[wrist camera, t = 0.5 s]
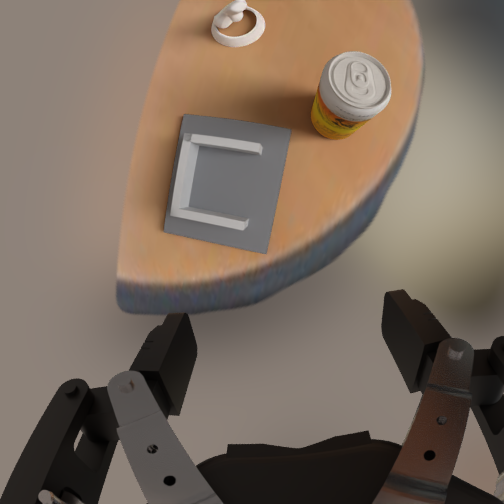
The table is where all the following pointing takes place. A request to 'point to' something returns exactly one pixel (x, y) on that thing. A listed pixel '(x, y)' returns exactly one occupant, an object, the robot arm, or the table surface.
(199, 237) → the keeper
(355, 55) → the beer can
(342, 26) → the table surface
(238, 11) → the hook
